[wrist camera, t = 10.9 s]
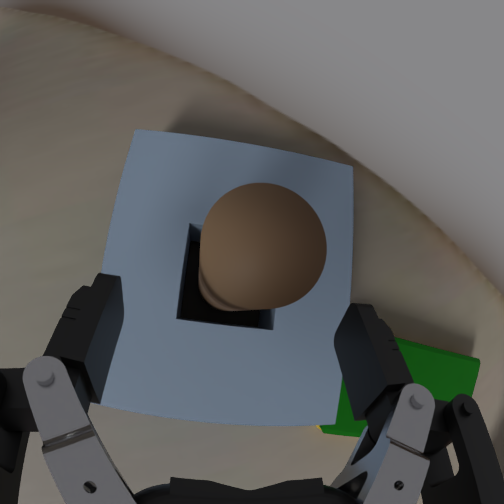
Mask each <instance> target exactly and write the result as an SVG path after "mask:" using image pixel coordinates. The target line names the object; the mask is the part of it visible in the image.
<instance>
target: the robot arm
mask: <svg viewBox="0 0 504 504" xmlns="http://www.w3.org/2000/svg"><path fill="white" fill-rule="evenodd" d="M123 320H124V303H123V293H122V282H121V277H120V276H117V275H111V274H104V273H98V274H97V276H96V278H95V280H94V282H93V284H92V286H91V287H89V286H82V287H81V288H80V289H78V290H77V291H76V292H75V293H74V294H73V295H72V296H71V298H70V300H69V302H68V304H67V306H66V309H65V310H64V312H63V314H62V318H60V320H59V322H58V324H57V326H56V329H55V331H54V333H53V335H52V337H51V339H50V341H49V344H48V346H47V348H46V350H45V352H44V354H43V356H41V357H38V358H35V359H33V360H32V361H31V362H29V364H28V365H27V366H26V367H25V368H8V369H0V504H18V496H19V488H20V481H21V475H22V469H23V463H24V458H25V453H26V448H27V443H28V438H29V434H30V432H39V433H40V436H41V438H42V441H43V446H42V452H43V456H44V458H45V461H46V463H47V466H48V468H49V470H50V472H51V475H52V477H53V479H54V481H55V483H56V485H57V487H58V489H59V491H60V493H61V495H62V497H63V499H64V501H65V503H66V504H416V503H417V501H418V498H419V495H420V492H421V495H422V500H423V504H504V480H503V476H502V473H501V469H500V466H499V463H498V460H497V457H496V454H495V450H494V447H493V445H492V442H491V439H490V436H489V433H488V430H487V428H486V425H485V422H484V420H483V417H482V415H481V412H480V410H479V407H478V405H477V403H476V402H475V400H474V399H473V398H472V397H470V396H469V395H466V394H458V395H456V396H455V397H454V398H453V399H452V400H451V401H450V402H448V401H443V400H438V399H434V398H433V396H432V394H431V393H430V391H429V390H428V389H426V388H425V387H424V386H422V385H420V384H415V383H414V381H413V378H412V376H411V374H410V371H409V369H408V367H407V364H406V362H405V360H404V357H403V355H402V353H401V351H399V349H400V348H399V346H398V344H397V342H395V340H396V339H395V337H394V335H393V333H392V331H391V329H390V328H389V327H388V325H387V324H386V323H385V322H384V321H383V320H382V319H379V318H378V316H377V314H376V312H375V310H374V308H373V306H372V305H370V304H357V303H352V304H350V305H349V307H348V308H347V310H346V312H345V314H344V316H343V318H342V320H341V322H340V324H339V326H338V328H337V330H336V332H335V335H334V348H335V352H336V355H337V359H338V362H339V366H340V369H341V373H342V376H343V380H344V383H345V387H346V391H347V394H348V398H349V402H350V405H351V409H352V413H353V417H354V421H361V420H366V421H367V426H366V427H365V428H364V430H363V432H362V434H361V436H360V438H359V440H358V443H357V445H356V447H355V449H354V451H353V453H352V455H351V456H350V458H349V460H348V462H347V464H346V466H345V468H344V469H343V470H342V472H341V473H340V474H339V475H338V476H337V477H336V479H335V480H334V481H333V483H332V484H331V485H330V486H326V485H323V481H322V478H314V479H304V480H290V481H285V482H281V483H278V484H275V485H271V486H267V487H263V488H260V489H256V490H244V489H239V488H235V487H231V486H227V485H223V484H220V483H216V482H213V481H208V480H194V479H184V478H175V477H171V478H170V483H169V484H161V485H156V486H152V487H149V488H146V489H144V490H142V491H140V492H138V493H136V494H133V492H132V491H131V489H130V488H129V486H128V485H127V483H126V481H125V480H124V478H123V477H122V475H121V474H120V472H119V470H118V469H117V467H116V466H115V464H114V462H113V461H112V459H111V457H110V456H109V454H108V452H107V450H106V449H105V447H104V445H103V443H102V441H101V439H100V438H99V436H98V434H97V432H96V430H95V428H94V426H93V424H92V422H91V420H90V418H89V416H88V414H87V413H88V409H89V406H90V402H92V403H96V404H100V403H101V399H102V395H103V392H104V388H105V384H106V380H107V376H108V373H109V369H110V366H111V362H112V359H113V355H114V352H115V348H116V345H117V342H118V338H119V335H120V332H121V329H122V325H123ZM452 442H453V446H454V449H455V452H456V456H457V459H458V463H459V471H458V473H457V475H456V476H454V473H453V470H452V466H451V462H450V459H449V455H448V452H447V448H446V446H448V445H449V444H450V443H452Z"/></svg>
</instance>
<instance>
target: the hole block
mask: <svg viewBox="0 0 504 504" xmlns="http://www.w3.org/2000/svg"><path fill="white" fill-rule="evenodd" d="M250 183H272V184H276V185H280V186H283V187H285V188H288V189H290V190H292V191H294V192H295V193H297V194H298V195H300V196H301V197H302V198H303V199H304V200H306V201H307V202H308V203H309V204H310V206H311V207H312V208H313V209H314V211H315V212H316V214H317V215H318V217H319V219H320V221H321V223H322V226H323V228H324V232H325V236H326V242H327V255H326V262H325V265H324V269H323V271H322V274H321V276H320V278H319V280H318V281H317V283H316V284H315V286H314V287H313V288H312V289H311V290H310V291H309V292H308V293H307V294H306V295H305V296H304V297H302V298H301V299H299V300H298V301H296V302H294V303H292V304H290V305H287V306H284V307H280V308H274V309H261V310H260V313H259V323H258V327H254V326H245V325H235V324H226V323H218V322H210V321H202V320H194V319H187V318H180V316H181V308H182V299H183V292H184V284H185V276H186V269H187V262H188V255H189V248H190V242H191V241H197V242H200V240H201V232H202V227H203V224H204V221H205V218H206V216H207V214H208V212H209V211H210V209H211V208H212V206H213V205H214V204H215V203H216V202H217V201H218V200H219V199H220V198H221V197H222V196H223V195H224V194H226V193H227V192H229V191H231V190H232V189H234V188H237V187H239V186H242V185H246V184H250ZM352 255H353V166H349V165H345V164H341V163H337V162H333V161H329V160H325V159H321V158H317V157H312V156H308V155H303V154H299V153H294V152H289V151H284V150H279V149H274V148H269V147H264V146H259V145H253V144H247V143H242V142H236V141H229V140H223V139H216V138H210V137H202V136H195V135H187V134H179V133H170V132H161V131H151V130H139V129H136V130H135V133H134V136H133V139H132V143H131V146H130V149H129V153H128V156H127V159H126V163H125V166H124V170H123V174H122V177H121V181H120V185H119V189H118V193H117V197H116V201H115V205H114V210H113V214H112V219H111V223H110V228H109V233H108V238H107V243H106V248H105V253H104V259H103V265H102V271H101V273H104V274H111V275H117V276H120V277H121V282H122V293H123V303H124V320H123V325H122V329H121V332H120V335H119V338H118V342H117V345H116V348H115V352H114V355H113V359H112V362H111V366H110V369H109V373H108V376H107V380H106V384H105V388H104V392H103V395H102V399H101V403H100V404H98V405H102V406H107V407H111V408H116V409H121V410H125V411H131V412H136V413H141V414H147V415H153V416H159V417H166V418H173V419H181V420H189V421H198V422H208V423H220V424H234V425H256V426H310V425H332V424H335V422H336V416H337V410H338V403H339V397H340V390H341V383H342V373H341V369H340V366H339V362H338V359H337V355H336V352H335V348H334V335H335V332H336V330H337V328H338V326H339V324H340V322H341V320H342V318H343V316H344V314H345V312H346V310H347V308H348V307H349V305H350V293H351V277H352ZM90 403H92V402H90ZM94 404H96V403H94Z"/></svg>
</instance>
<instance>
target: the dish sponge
mask: <svg viewBox="0 0 504 504" xmlns="http://www.w3.org/2000/svg"><path fill="white" fill-rule="evenodd" d="M395 339H396V340H395V342H397V344H398V346H399V348H400V349H399V351H401V353H402V355H403V357H404V360H405V362H406V364H407V367H408V369H409V371H410V374H411V376H412V378H413V381H414V383H415V384H420V385H422V386H424V387H425V388H426V389H428V390H429V391H430V393H431V394H432V396H433V398H434V399H438V400H443V401H448V402H450V401H451V400H452V399H453V398H454V397H455V396H456V395H458V394H466V395H469V396H470V397H472V394H473V391H474V387H475V383H476V380H477V376H478V372H479V367H480V360H479V359H477V358H473V357H469V356H465V355H461V354H457V353H453V352H449V351H445V350H441V349H437V348H434V347H430V346H426V345H422V344H418V343H415V342H411V341H407V340H404V339H400V338H396V337H395ZM315 426H316V427H318V428H319V429H320V430H322V432H323V433H327V434H335V435H344V436H353V437H360V436H361V434H362V432H363V430H364V428H365V427H366V426H367V421H366V420H361V421H354V417H353V413H352V409H351V405H350V402H349V398H348V394H347V391H346V387H345V383H344V380H343V376H342V383H341V390H340V397H339V403H338V410H337V416H336V422H335V424H332V425H315Z"/></svg>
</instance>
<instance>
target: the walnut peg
mask: <svg viewBox="0 0 504 504" xmlns="http://www.w3.org/2000/svg"><path fill="white" fill-rule="evenodd" d="M326 255H327V242H326V236H325V232H324V228H323V226H322V223H321V221H320V219H319V217H318V215H317V214H316V212H315V211H314V209H313V208H312V207H311V206H310V204H309V203H308V202H307V201H306V200H304V199H303V198H302V197H301V196H300V195H298V194H297V193H295V192H294V191H292V190H290V189H288V188H285V187H283V186H280V185H276V184H272V183H250V184H246V185H242V186H239V187H237V188H234V189H232V190H231V191H229V192H227V193H226V194H224V195H223V196H222V197H221V198H220V199H219V200H218V201H217V202H216V203H215V204H214V205H213V206H212V208H211V209H210V211H209V212H208V214H207V216H206V218H205V221H204V224H203V227H202V232H201V240H200V258H199V280H198V288H199V293H200V296H201V298H202V299H203V301H204V302H205V303H206V304H207V305H208V306H210V307H211V308H213V309H215V310H218V311H242V310H261V309H274V308H280V307H284V306H287V305H290V304H292V303H294V302H296V301H298V300H299V299H301V298H302V297H304V296H305V295H306V294H307V293H308V292H309V291H310V290H311V289H312V288H313V287H314V286H315V284H316V283H317V281H318V280H319V278H320V276H321V274H322V271H323V269H324V265H325V262H326Z"/></svg>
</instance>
